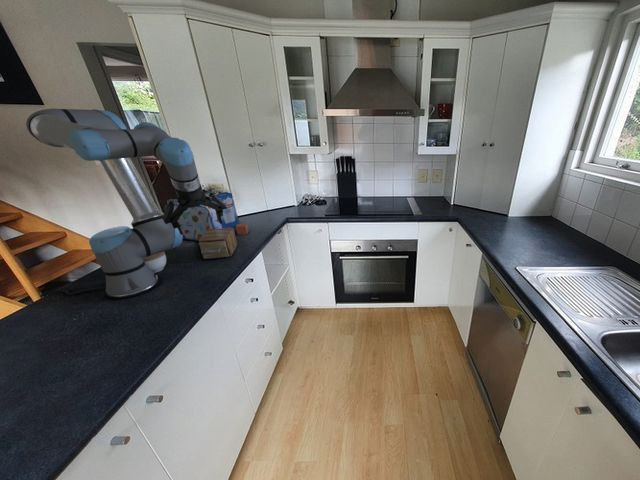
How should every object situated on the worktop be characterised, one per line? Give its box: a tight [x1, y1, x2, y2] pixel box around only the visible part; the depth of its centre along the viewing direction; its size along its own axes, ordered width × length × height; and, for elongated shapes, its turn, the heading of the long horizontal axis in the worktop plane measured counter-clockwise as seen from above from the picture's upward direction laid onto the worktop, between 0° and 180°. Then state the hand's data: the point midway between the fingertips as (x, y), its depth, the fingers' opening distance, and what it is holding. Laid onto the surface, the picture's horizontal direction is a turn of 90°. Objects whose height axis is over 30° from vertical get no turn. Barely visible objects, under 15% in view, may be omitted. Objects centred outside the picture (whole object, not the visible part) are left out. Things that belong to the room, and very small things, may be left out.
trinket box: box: [143, 251, 167, 274], centre depth 116 cm, size 11×11×9 cm
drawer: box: [198, 240, 230, 260], centre depth 129 cm, size 18×10×8 cm, turn 15°
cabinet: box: [198, 227, 238, 257], centre depth 134 cm, size 15×12×10 cm
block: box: [235, 222, 249, 236], centre depth 158 cm, size 5×5×5 cm
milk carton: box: [209, 191, 240, 228], centre depth 164 cm, size 10×6×20 cm, turn 148°
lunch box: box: [163, 203, 224, 241], centre depth 146 cm, size 28×10×22 cm, turn 85°
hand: (201, 226), depth 106 cm, fingers open, 13 cm apart
